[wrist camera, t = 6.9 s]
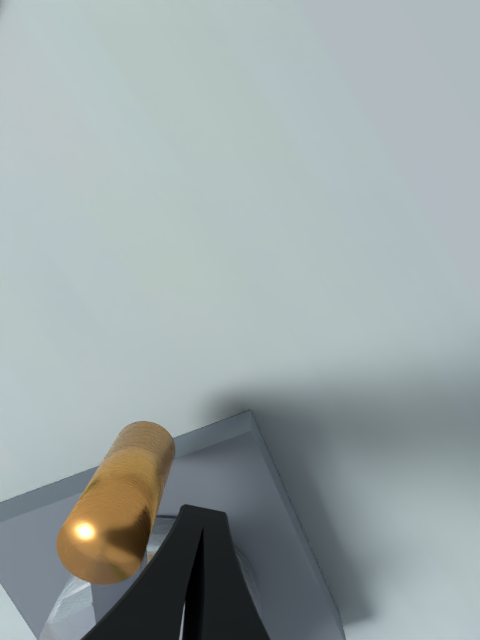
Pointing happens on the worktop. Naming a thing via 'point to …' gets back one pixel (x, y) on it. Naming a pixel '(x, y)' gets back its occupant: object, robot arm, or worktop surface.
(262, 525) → the base plate
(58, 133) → the worktop surface
